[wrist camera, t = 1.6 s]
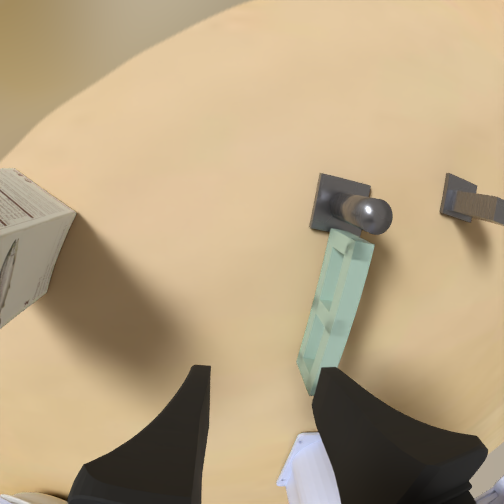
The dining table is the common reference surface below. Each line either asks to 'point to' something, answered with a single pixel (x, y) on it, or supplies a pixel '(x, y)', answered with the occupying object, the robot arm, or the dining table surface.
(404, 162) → the dining table surface
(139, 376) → the dining table surface
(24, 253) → the supplement box
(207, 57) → the dining table surface
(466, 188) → the post
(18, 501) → the soup bowl
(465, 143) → the dining table surface
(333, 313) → the gate
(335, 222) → the hinge post
